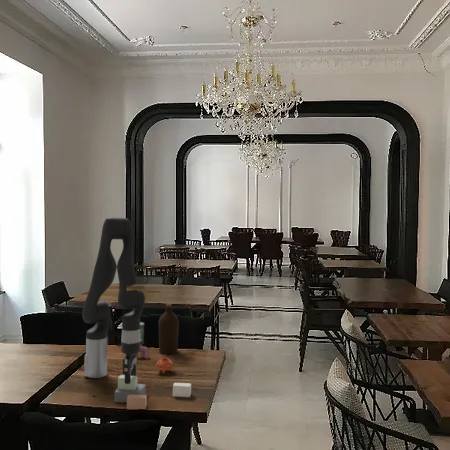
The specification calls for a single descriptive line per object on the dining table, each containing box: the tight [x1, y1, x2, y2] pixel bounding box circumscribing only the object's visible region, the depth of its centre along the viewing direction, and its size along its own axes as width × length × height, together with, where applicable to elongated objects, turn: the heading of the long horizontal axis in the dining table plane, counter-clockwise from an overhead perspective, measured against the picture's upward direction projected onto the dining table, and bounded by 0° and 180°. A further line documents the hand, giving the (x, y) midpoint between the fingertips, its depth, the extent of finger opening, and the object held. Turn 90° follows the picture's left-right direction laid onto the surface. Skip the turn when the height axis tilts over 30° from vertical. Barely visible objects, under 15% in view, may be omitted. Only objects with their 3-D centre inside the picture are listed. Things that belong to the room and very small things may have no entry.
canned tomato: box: [140, 321, 145, 346], centre depth 290 cm, size 8×8×11 cm
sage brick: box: [117, 374, 138, 390], centre depth 213 cm, size 7×4×4 cm, turn 85°
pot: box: [155, 357, 174, 374], centre depth 246 cm, size 8×8×7 cm
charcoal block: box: [113, 383, 147, 404], centre depth 213 cm, size 10×10×4 cm
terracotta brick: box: [126, 394, 148, 410], centre depth 204 cm, size 7×4×4 cm, turn 89°
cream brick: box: [172, 382, 192, 398], centre depth 218 cm, size 7×4×4 cm, turn 85°
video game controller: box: [139, 345, 150, 360], centre depth 265 cm, size 10×5×7 cm, turn 93°
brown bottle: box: [157, 303, 180, 355], centre depth 276 cm, size 11×11×25 cm
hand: (130, 379), depth 213 cm, fingers open, 8 cm apart
